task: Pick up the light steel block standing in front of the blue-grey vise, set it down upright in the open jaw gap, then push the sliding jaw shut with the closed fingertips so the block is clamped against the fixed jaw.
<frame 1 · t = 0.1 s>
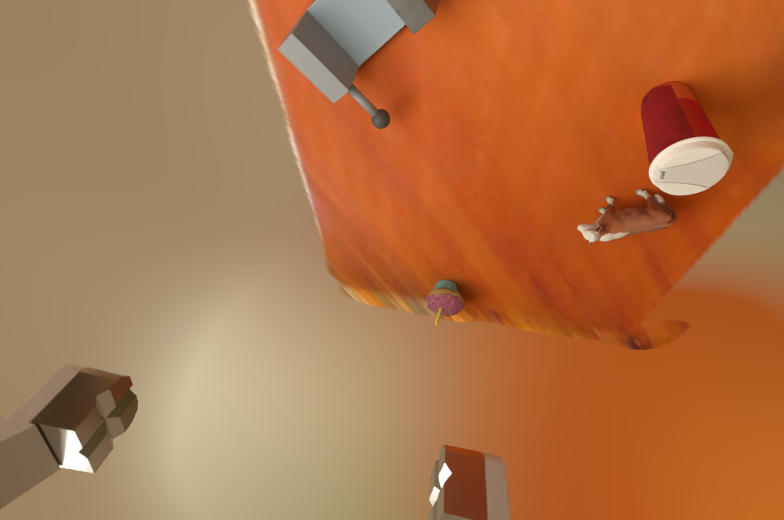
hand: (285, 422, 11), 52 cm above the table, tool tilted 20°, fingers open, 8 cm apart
bull figurine: (619, 199, 69), on the table
paper cup: (665, 100, 55), on the table
cupcake: (447, 284, 97), on the table
vise base: (368, 2, 51), on the table
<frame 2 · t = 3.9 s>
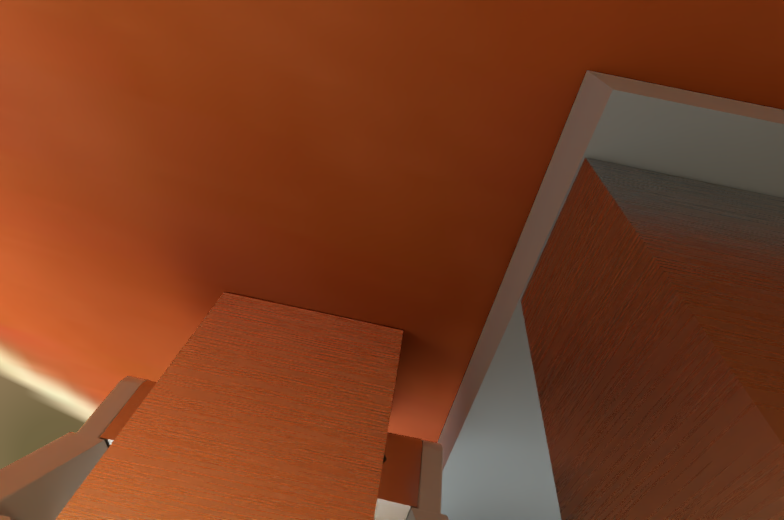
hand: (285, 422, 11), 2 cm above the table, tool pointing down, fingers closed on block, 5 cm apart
vise base: (607, 424, 12), on the table
block: (309, 360, 13), on the table, touching gripper
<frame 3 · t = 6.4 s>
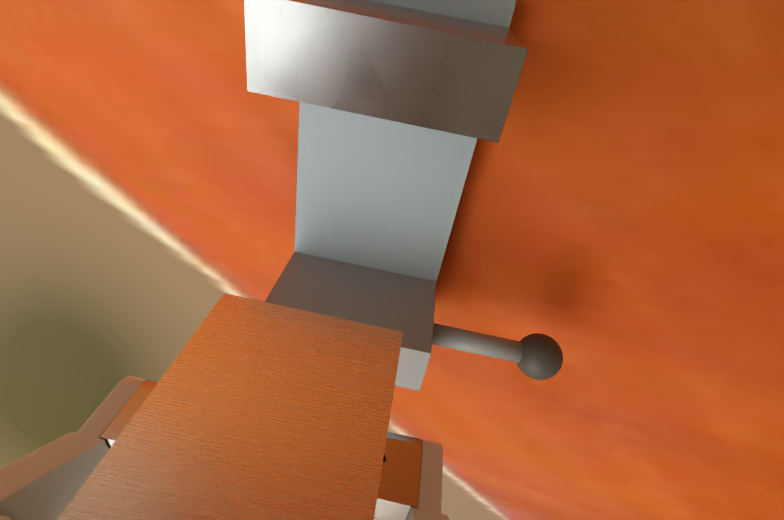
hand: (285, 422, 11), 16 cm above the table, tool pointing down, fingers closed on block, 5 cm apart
vise base: (383, 167, 24), on the table
jaw: (390, 56, 16), point 5 cm above the table, slide at 7.0 cm
block: (309, 361, 13), point 14 cm above the table, touching gripper
when the fingers open (5 cm above the table, at t = 8.8 s): block stays where it is, resting on vise base.
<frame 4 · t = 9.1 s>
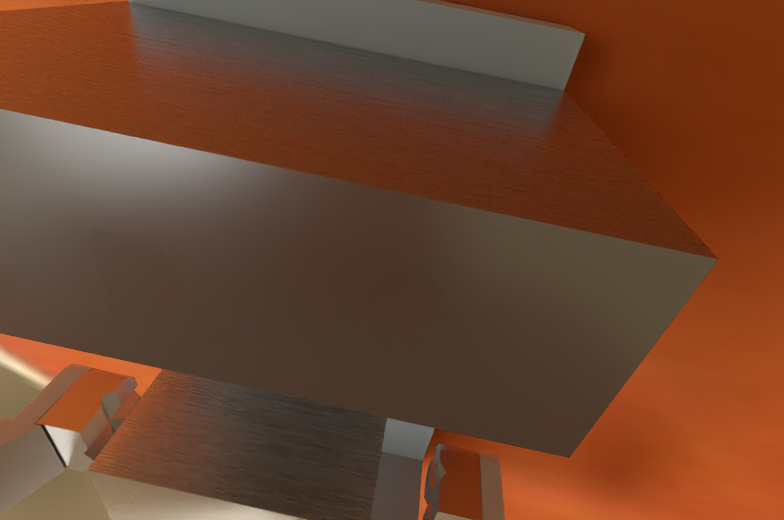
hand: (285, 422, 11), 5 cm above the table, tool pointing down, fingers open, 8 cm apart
vise base: (332, 296, 14), on the table
jaw: (292, 173, 7), point 5 cm above the table, slide at 7.0 cm
block: (316, 336, 13), point 1 cm above the table, touching vise base
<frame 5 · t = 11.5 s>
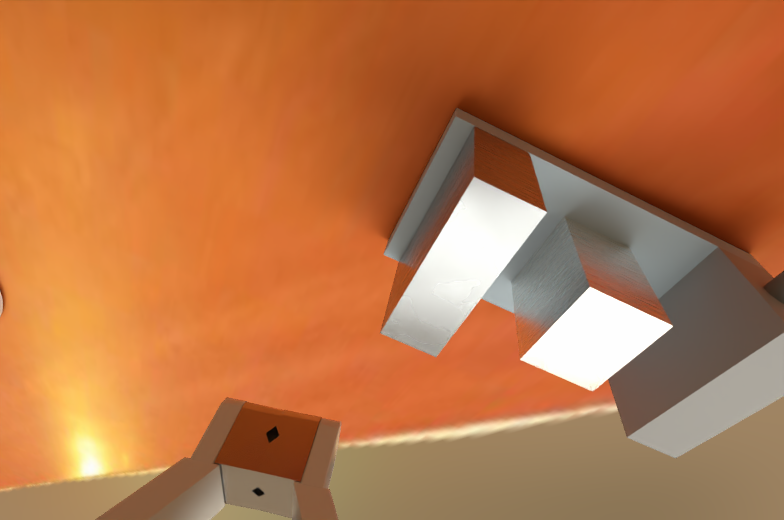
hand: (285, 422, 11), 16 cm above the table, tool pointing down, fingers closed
vise base: (557, 247, 25), on the table
jaw: (454, 243, 20), point 5 cm above the table, slide at 7.0 cm
block: (567, 266, 23), point 1 cm above the table, touching vise base
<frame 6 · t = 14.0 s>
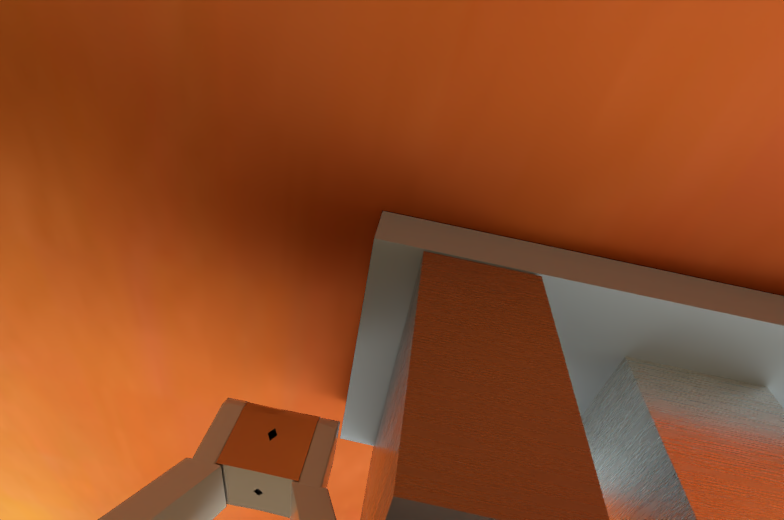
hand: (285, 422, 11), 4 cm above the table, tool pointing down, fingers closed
vise base: (621, 380, 14), on the table
jaw: (436, 473, 11), point 5 cm above the table, slide at 6.7 cm, touching gripper
block: (649, 423, 13), point 1 cm above the table, touching vise base
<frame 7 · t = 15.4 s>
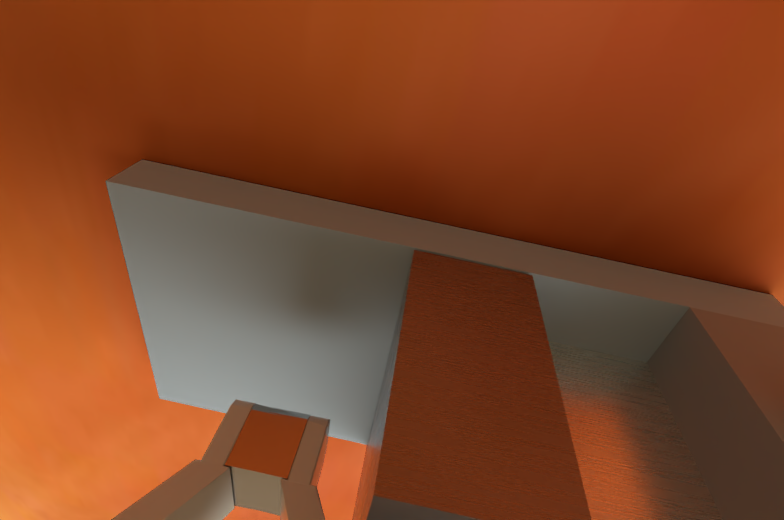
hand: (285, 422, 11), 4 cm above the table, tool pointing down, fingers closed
vise base: (420, 338, 14), on the table
jaw: (426, 472, 11), point 5 cm above the table, slide at 0.0 cm, touching block, gripper
block: (542, 401, 13), point 1 cm above the table, touching jaw, vise base
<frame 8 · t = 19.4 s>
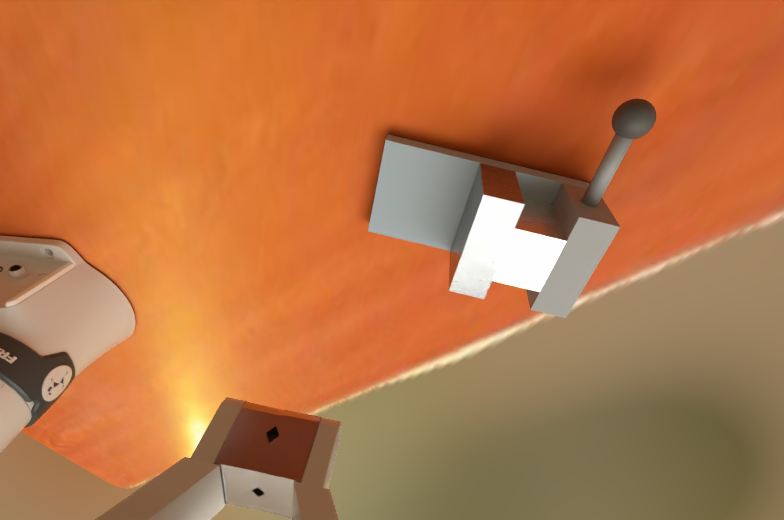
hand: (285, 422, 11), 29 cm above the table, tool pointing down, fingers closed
vise base: (474, 204, 38), on the table
jaw: (481, 231, 35), point 5 cm above the table, slide at 0.0 cm, touching block
block: (518, 223, 37), point 1 cm above the table, touching jaw, vise base
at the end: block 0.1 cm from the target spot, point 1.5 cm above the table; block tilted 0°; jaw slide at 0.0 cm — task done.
